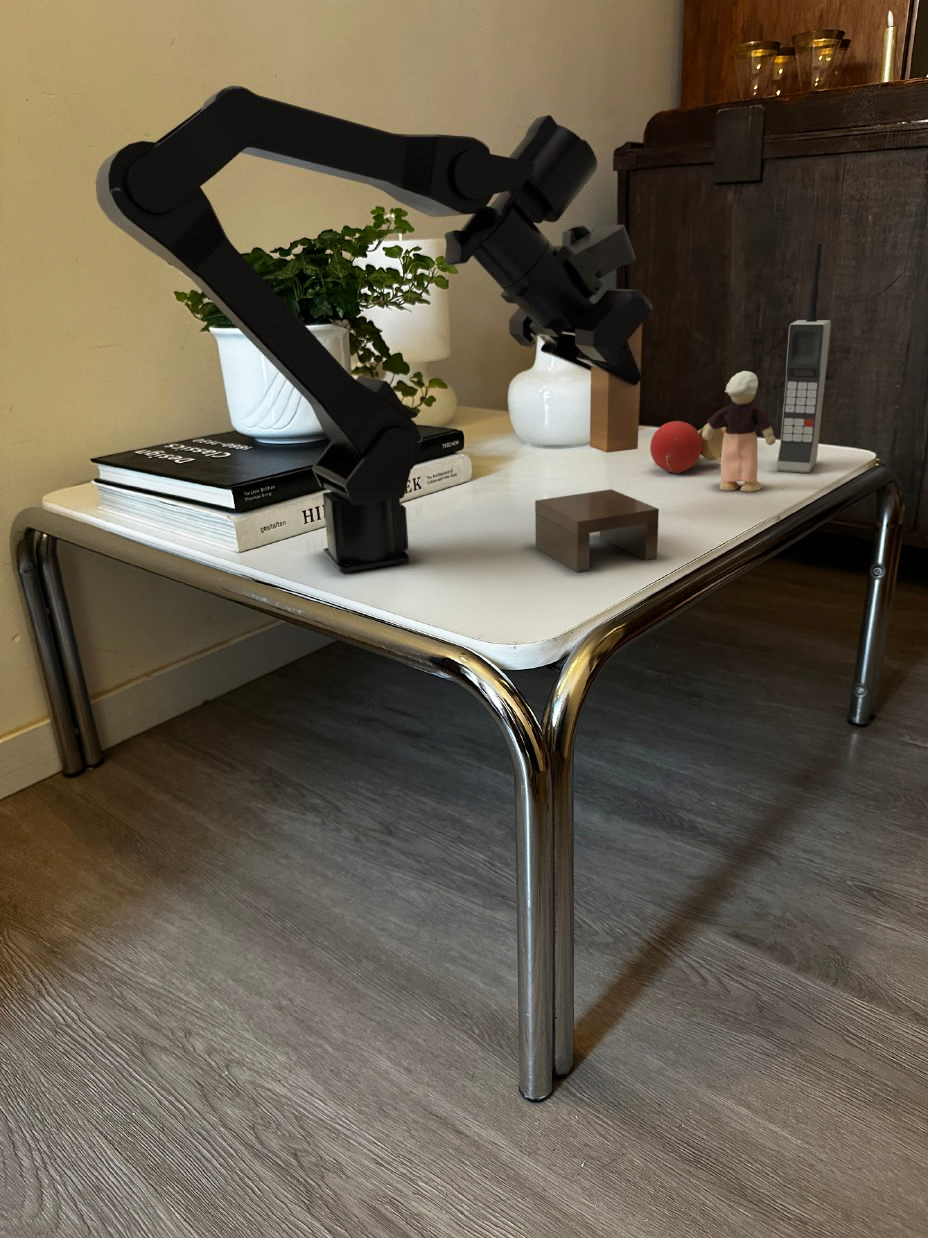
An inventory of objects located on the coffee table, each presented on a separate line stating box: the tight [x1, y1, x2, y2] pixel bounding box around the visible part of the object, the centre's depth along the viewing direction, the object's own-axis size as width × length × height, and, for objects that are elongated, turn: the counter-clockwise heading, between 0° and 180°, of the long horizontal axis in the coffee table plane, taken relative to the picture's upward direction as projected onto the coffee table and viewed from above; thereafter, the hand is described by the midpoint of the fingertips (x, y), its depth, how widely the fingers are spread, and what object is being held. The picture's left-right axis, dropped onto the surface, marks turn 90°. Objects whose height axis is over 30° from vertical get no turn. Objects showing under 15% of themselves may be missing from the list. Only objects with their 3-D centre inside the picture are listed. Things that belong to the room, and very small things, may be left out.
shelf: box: [534, 488, 660, 573], centre depth 83 cm, size 8×8×4 cm
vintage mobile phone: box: [776, 242, 832, 474], centre depth 106 cm, size 4×5×25 cm
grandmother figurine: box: [702, 370, 777, 493], centre depth 101 cm, size 8×4×13 cm, turn 74°
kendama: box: [649, 420, 726, 474], centre depth 115 cm, size 8×6×18 cm
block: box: [589, 323, 643, 454], centre depth 90 cm, size 4×4×12 cm
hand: (627, 379), depth 90 cm, fingers closed on block, 3 cm apart
